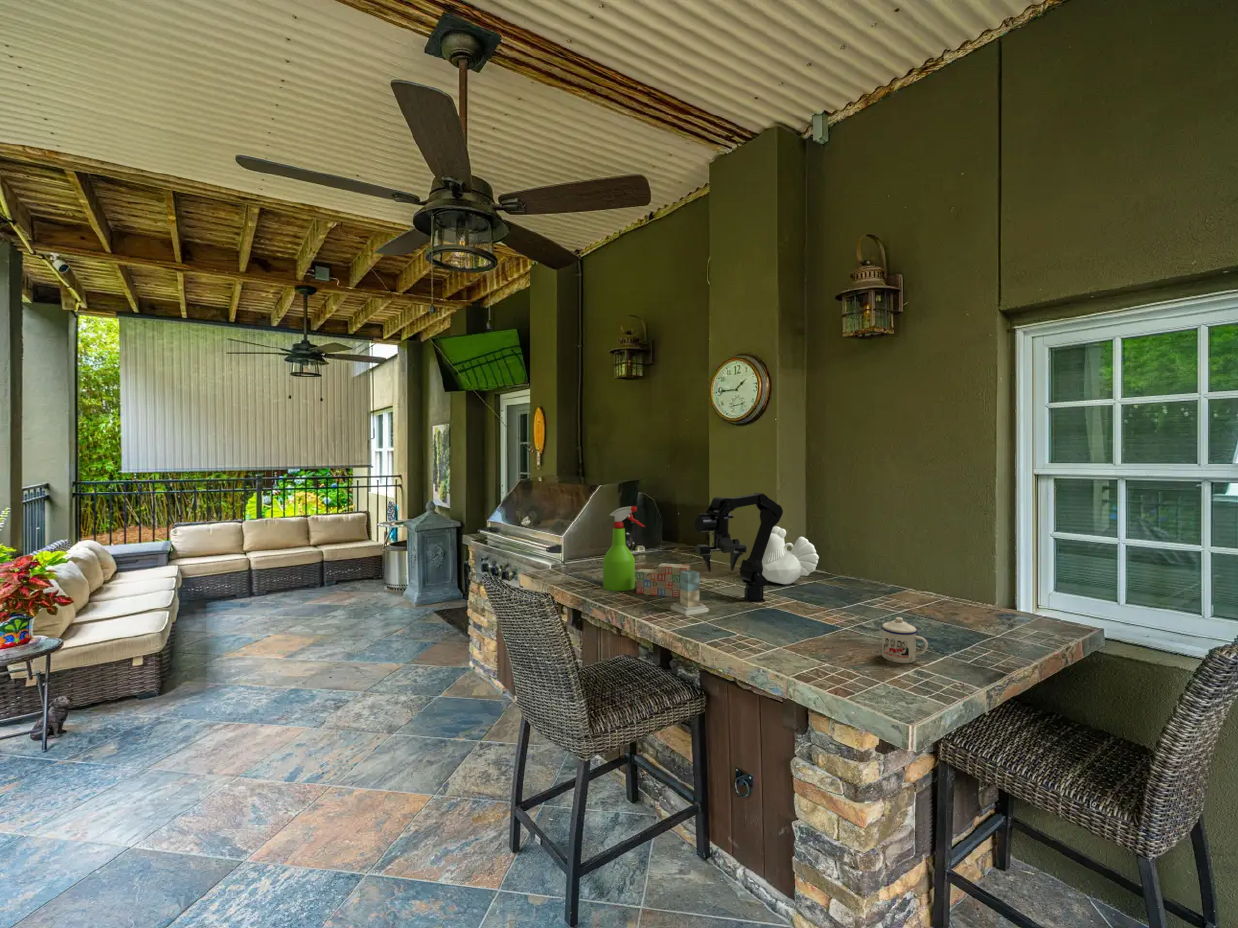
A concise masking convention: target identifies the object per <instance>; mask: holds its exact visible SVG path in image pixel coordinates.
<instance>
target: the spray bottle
mask: <svg viewBox="0 0 1238 928" xmlns="http://www.w3.org/2000/svg"><path fill="white" fill-rule="evenodd" d="M636 512H637V506H635V505H631V506H625V507H619V508H618V509H617V508H616V509H615V510H614V511H613V512H611V513H610V514H609V516H611V517H614V523H613V528H612V540H611V541H612V542H611V546H610V547H609V549H608V550H607V552H606V553H605V555H604V557H603V559H602V572H603V573H602V574H603V577H602V579H603V580H602V581H603V582H602V584H603V586H602V587H603V589H605V590H608V591H613V592H625V591H631V590H633V589H635V587H636V579H635V578H636V572H635V571H636V567H635V566H636V559H635V557H634V555H633V553H632V552H631V550H630V549H629V548H628V546H627V545H626V528H625V525H624V522H623V521H624V520H625V519H627V520H629V521H631V522H633V523H634V524H635V525H638V526H639V527H640V528H641V527H642V528H645V527H646V525H645V524H643V523H641V522H640V521H639V520H637V519H635V518H634V516H633V514H632V513H636Z"/></svg>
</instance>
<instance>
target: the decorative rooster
mask: <svg viewBox="0 0 1238 928" xmlns="http://www.w3.org/2000/svg"><path fill="white" fill-rule="evenodd" d="M786 536H787V530H786V529H785V528H782V527H780V526H777V525H775V526H774V527H773V529H772V532H771V535H770V538H769V541H768V544H767V547H766V550H765V553H764V556H763V559H762V566H763V572H762V575H763V576H764V577H765V578H766V579H767V582H768V581H769V582H772V583H775V584H782V585H791V584H792V583H794V582H796V581H797V580H798V579H799V578H800V577H801V576H809V575H810V574H811V573H813V572H814V571H816V569H817V568H816V567H817V566H818V564H819V559H820V556H819V555H818V554H817V550H816V548H815V545H814V544H813V543H811V542H809V540H808V539H807V538H806V537H804V536H799V537H798V538H797V539H796V541H795V542H794V544H793V543H792V542H787V543H786V542H785V538H786ZM788 547H790V548H791V550H788Z"/></svg>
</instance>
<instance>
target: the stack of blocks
mask: <svg viewBox="0 0 1238 928" xmlns="http://www.w3.org/2000/svg"><path fill="white" fill-rule="evenodd" d="M689 570H691V564H690V565H687V564H682V563H681V564H679V563H667V562H666V563H664V562H663V563H662V562H661V563H660V564H658V565H657V569H646V568H639V569H638V570H636V572H635V578H636V579H635V580H636V584H635V587H636V594H637V595H639V594H640V595H648V596H661V597H672V598H680V571H689Z"/></svg>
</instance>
